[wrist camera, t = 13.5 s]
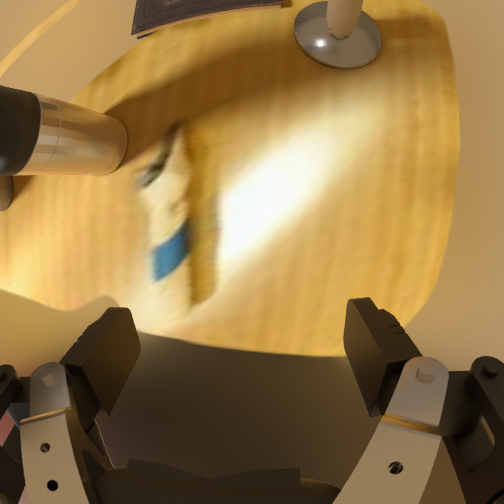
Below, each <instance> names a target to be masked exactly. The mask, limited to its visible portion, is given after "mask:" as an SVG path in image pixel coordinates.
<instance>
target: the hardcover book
mask: <svg viewBox="0 0 504 504" xmlns="http://www.w3.org/2000/svg"><path fill="white" fill-rule="evenodd" d="M281 5H282V2H281V0H137V2H136V8H135V13H134V19H133V25H132V33H131V35H134V34H136V35H137V39H141V38H144V37H147V36H150V35H152V34H153V33H154V32H156V31H157V30H159V29H163V28H166V27H170V26H173V25H177V24H181V23H185V22H189V21H193V20H198V19H203V18H208V17H213V16H218V15H224V14H230V13H237V12H245V11H253V10H264V9H277V8H281Z"/></svg>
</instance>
